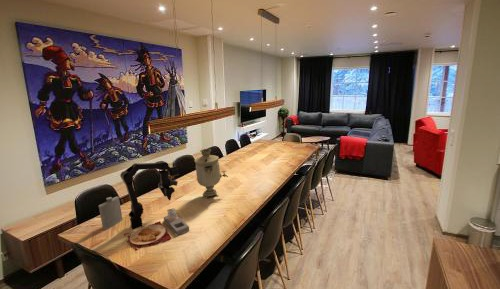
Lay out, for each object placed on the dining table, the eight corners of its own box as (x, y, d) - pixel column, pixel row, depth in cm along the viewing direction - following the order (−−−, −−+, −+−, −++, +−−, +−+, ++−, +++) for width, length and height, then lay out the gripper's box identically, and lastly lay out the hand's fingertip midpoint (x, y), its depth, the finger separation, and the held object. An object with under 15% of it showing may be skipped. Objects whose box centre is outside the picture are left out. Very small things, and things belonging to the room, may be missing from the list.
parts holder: (176, 235, 168) (176, 230, 167) (164, 220, 187) (163, 216, 186) (189, 230, 173) (188, 226, 172) (175, 216, 192) (175, 212, 191)
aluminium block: (170, 220, 181) (169, 212, 179) (168, 217, 184) (167, 210, 183) (176, 218, 183) (175, 210, 182) (174, 215, 187) (173, 208, 185)
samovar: (227, 202, 211) (223, 154, 202) (194, 203, 212) (189, 155, 203) (230, 187, 240) (227, 145, 231) (201, 188, 241) (197, 146, 232)
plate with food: (160, 223, 185) (159, 219, 185) (172, 239, 164) (171, 234, 164) (123, 236, 173) (123, 231, 172) (131, 254, 152) (130, 249, 151)
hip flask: (120, 218, 194) (115, 192, 189) (124, 218, 193) (120, 193, 188) (102, 229, 179) (96, 202, 175) (106, 230, 178) (101, 203, 174)
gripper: (180, 178, 188) (182, 199, 191) (171, 172, 202) (173, 191, 206) (165, 182, 181) (167, 203, 185) (156, 176, 196) (159, 195, 200)
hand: (167, 198), depth 194 cm, fingers open, 9 cm apart
